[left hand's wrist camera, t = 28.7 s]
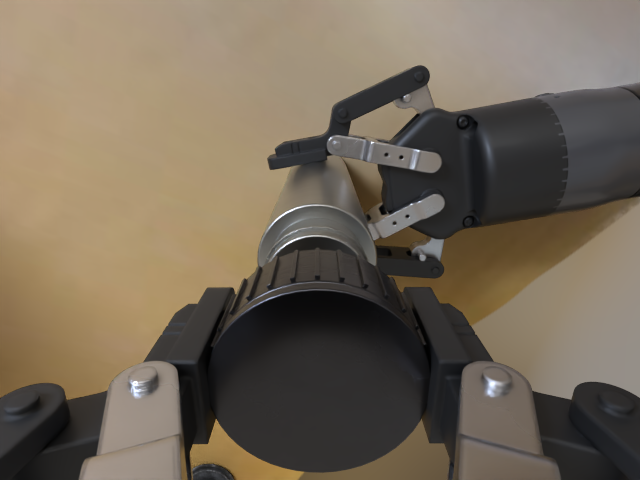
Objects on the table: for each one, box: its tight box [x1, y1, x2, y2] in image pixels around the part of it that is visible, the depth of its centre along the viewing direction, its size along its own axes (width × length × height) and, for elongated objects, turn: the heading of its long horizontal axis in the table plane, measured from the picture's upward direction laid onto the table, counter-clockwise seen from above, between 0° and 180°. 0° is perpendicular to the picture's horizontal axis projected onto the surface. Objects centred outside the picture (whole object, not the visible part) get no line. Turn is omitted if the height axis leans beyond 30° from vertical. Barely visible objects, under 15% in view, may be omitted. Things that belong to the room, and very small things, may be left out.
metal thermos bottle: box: [258, 155, 377, 267], centre depth 23 cm, size 5×5×20 cm
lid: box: [207, 248, 431, 472], centre depth 10 cm, size 5×5×2 cm
